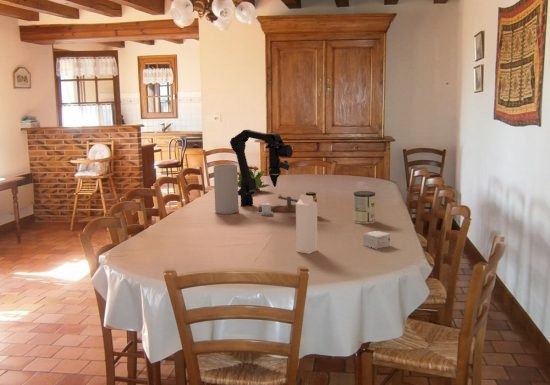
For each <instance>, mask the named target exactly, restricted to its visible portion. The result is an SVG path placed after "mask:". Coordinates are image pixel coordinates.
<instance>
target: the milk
mask: <svg viewBox="0 0 550 385" xmlns="http://www.w3.org/2000/svg"><path fill="white" fill-rule="evenodd" d="M298 200H299V201H298V202H295V204H296V211H295V227H296V228H295V230H296V232H295V234H296V235H295V236H296V238H295V240H296V246H295V247H296V250H295V251H296V252H297V253H303V254H308V255H309V254H312V253H314V252H315V253H316V252H317V251H318V216H317V215H318V203H316V202H315V201H314V200H313V196H308V195H306V194H300V195H299V199H298Z"/></svg>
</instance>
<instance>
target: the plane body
mask: <svg viewBox="0 0 550 385" xmlns="http://www.w3.org/2000/svg"><path fill="white" fill-rule="evenodd" d="M286 198H287V200H286V203H270V205H271V212H273V213H275V212H278V213H279V212H296V203H292V201H291V198H292V196H287V197H286ZM260 212H262V203H261V204H258V213H260Z"/></svg>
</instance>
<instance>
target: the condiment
mask: <svg viewBox="0 0 550 385" xmlns="http://www.w3.org/2000/svg"><path fill="white" fill-rule="evenodd" d="M305 195H308V196H313V200H314V201H315V202H316V203H317V202H318V198H317V192H315V191H308V192H305ZM317 204H318V203H317ZM317 217H320V215H319V214H317Z"/></svg>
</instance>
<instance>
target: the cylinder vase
mask: <svg viewBox="0 0 550 385" xmlns="http://www.w3.org/2000/svg"><path fill="white" fill-rule="evenodd" d="M237 172H238V164H230V163H229V164H217V165H215V164H214V165H213V184H214V186H213V187H214V189H213V190H214V211H215V213H217V214H220V215H233V214H235V213H236V214H237V213H238V212H239V210H240V209H239V195H238V191H239V187H238V181H239V180H238V177H239V175H238V173H239V172H238V173H237Z"/></svg>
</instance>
